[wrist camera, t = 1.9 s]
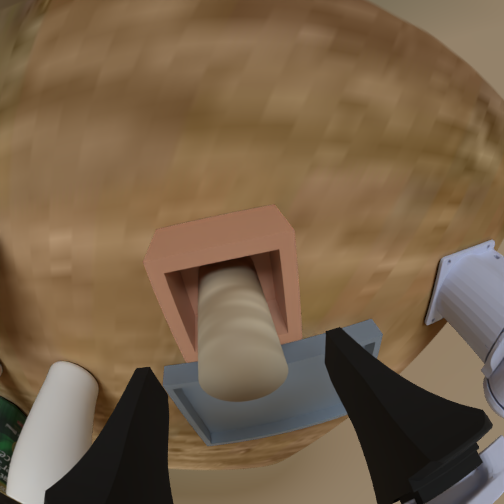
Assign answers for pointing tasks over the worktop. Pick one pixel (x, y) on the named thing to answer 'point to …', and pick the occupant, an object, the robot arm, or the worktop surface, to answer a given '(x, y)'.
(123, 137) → the worktop surface
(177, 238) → the salmon open box
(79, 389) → the drinking glass
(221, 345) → the ash peg
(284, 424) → the slate tray
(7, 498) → the coffee jar
